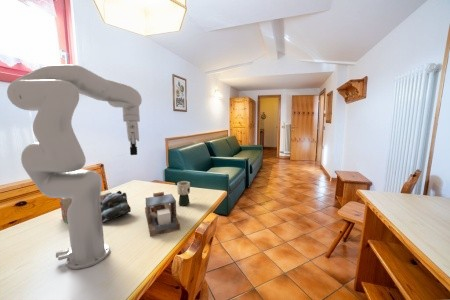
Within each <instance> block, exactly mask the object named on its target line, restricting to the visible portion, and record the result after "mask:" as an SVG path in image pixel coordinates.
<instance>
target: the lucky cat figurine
mask: <svg viewBox="0 0 450 300" xmlns="http://www.w3.org/2000/svg"><path fill="white" fill-rule="evenodd" d="M127 196H128V195H127V192H122V191H121V190H117V191H116V192H114V193H113V192H112V194H110V195H108V196H104V198H103V200H102V201H101V215H102V224H104V223H106V222H108V221H110V220H112V219H115V218H118V217H120V216H122V215H125V214H126V215H127V214H129V213H131V212H132V210H131V206H130V205H129V203H128V197H127Z"/></svg>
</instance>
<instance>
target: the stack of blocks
mask: <svg viewBox="0 0 450 300" xmlns="http://www.w3.org/2000/svg"><path fill="white" fill-rule="evenodd" d="M110 194H113V192H112V191H109V190H101V197H100V201H102V200H103V198H104V196H108V195H110ZM59 203H60V204H59V206H60V210H61V217H62V220H63V221H64V223H68V220H67V211H68V208H69V206H70V205H71V203H72V198H59Z"/></svg>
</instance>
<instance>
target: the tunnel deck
mask: <svg viewBox="0 0 450 300" xmlns="http://www.w3.org/2000/svg"><path fill="white" fill-rule="evenodd" d="M163 204H164V207H165V209H167V208H168V209H169V211H170V214H172V215H173V217H174V219H175V221H176V227H174V228H169V229H165V230H161V231H156V232H155V228H154V224H153V218H156V217H157V212H154V206H158V205H163ZM144 211H145V212H144V213H145V217H146V223H147V226H148V227H147V228H148V232H149V233H148V234H149V237H150V238H151V237H154V236H159V235H164V234H168V233H172V232H176V231H181V223H180V222H179V219H178V218H177V217H178V216H177V201H176V199H175V196H174V195H173V193H169V194H164V195H161V196H155V197H153V196H149V197H145V207H144ZM171 223H172V221H171ZM156 224H157V226H158V222H156Z"/></svg>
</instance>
